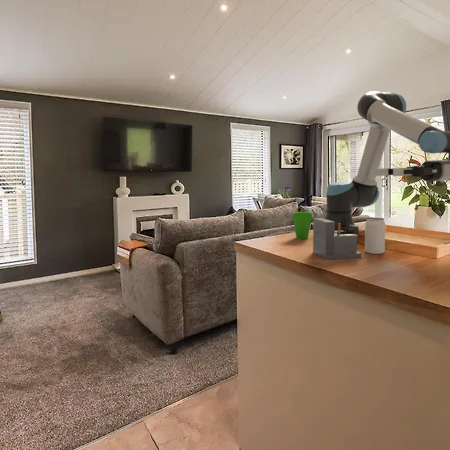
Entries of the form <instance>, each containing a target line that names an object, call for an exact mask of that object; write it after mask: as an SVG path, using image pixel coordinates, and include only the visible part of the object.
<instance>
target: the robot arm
mask: <svg viewBox="0 0 450 450" xmlns="http://www.w3.org/2000/svg"><path fill="white" fill-rule="evenodd" d="M356 108H357V113H358V115H359V116H360V117H361V118H362V119H364V120H366V121H367V122H368V124H369V126H370V128H369V131H368V134H367V135H368V136H367V138H366V143H365V146H364V149H363V153H362V155H361V156H362V157H361V159H360V163H359V167H358V170H357V173H356V174H357V175H354V177H352V179H351V181H350V180H349V181H348V180H346V181H336V182H332V183H329V184H328V185H327V187H326V193H325V194H326V214H325V218H324V219H327V220H330V221H334V222H335V231H338V223H340V231H344V233H346V232H345V231H349V225H355V221H354V217H353V215H352V210H353V208H354V209H355V208H366V207H370V206H373V205H375V203H376V202H377V201H378V199H379V196H380V191H379V187H378V182H377V180H376V178H377V177H379V176H380V177H381V176H382V177H383V176H384V177H386V178H388V177H389V176H392V177H415V178H416V177H418V178H419V177H420V178H421V180H423V181H424V182H441V183H444V182H445V181H450V130H448V131H447V130H442V129H439V128H437V127H435V126H433V125H431V124H429V123H426V122H425V121H422V120H420V119H419V118H416V117H414V116H412V115H410V114H408V113H406V111H407V102H406V100H405V98H404V96H402V95H401V94H400V93H394V92H387V91H385V92H384V91H376V90H373V91H369V92H367V93H365V94H363V95H362V96H361V97H360V99H359V100H358V103H357V105H356ZM390 131H392V132H394V133H396V134H397V135H400V136H401V137H403V138H405V139H407V140H409V141H411V142H412V143H413V144H416V145H418V147H419V149H420V150H421V151H422V152H424V153H428V154H448V156H447V158H448V159H437V160H435V159H433V160H426V161H425V160H424V162H423V163H422V164H421V165H413V166H406V167H393V168H385V167H384V168H380V165H381V161H382V158H383V155H384V151H385V150H386V145H387V143H388V142H387V141H388V138H389V135H390ZM355 226H356V225H355Z"/></svg>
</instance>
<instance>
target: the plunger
mask: <svg viewBox="0 0 450 450" xmlns="http://www.w3.org/2000/svg"><path fill="white" fill-rule="evenodd" d="M347 233H348V234H357V245H358V244H359V226H358V225H349V232H347ZM335 235H340V223H338V234H335Z"/></svg>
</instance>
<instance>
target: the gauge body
mask: <svg viewBox="0 0 450 450" xmlns="http://www.w3.org/2000/svg"><path fill="white" fill-rule="evenodd" d="M312 222H313V223H312V224H313V225H312V226H313V229H312V231H313V232H312V235H313V236H312V239H313V241H312V243H313V244H312V245H313V246H312V253H313V254H314V255H317V256H318V257H320V258H322V259H324V260H328V261H329V260H345V259H359V258H360V259H361V258H362V252H359V251H358V244H357V234H347V233H346V234H345V232H344V231H340V235H335V234H338V231H335V222H334V221H330V220H327V219H325V218H324V217H316V218H314V217H313V221H312Z"/></svg>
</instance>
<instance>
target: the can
mask: <svg viewBox="0 0 450 450" xmlns="http://www.w3.org/2000/svg"><path fill="white" fill-rule="evenodd" d="M385 246H386V222H385V218H382V217H367V218H366V220H365V222H364V252H365V253H366V254H370V255H383V254H384V253H385V251H386V249H385V248H386V247H385Z"/></svg>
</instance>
